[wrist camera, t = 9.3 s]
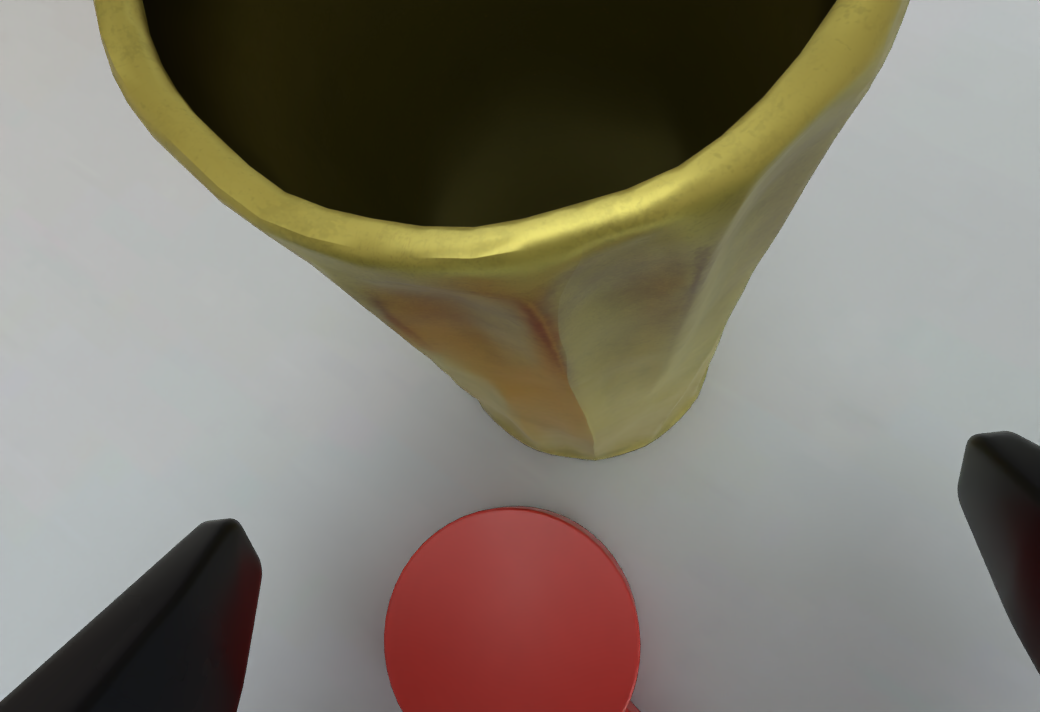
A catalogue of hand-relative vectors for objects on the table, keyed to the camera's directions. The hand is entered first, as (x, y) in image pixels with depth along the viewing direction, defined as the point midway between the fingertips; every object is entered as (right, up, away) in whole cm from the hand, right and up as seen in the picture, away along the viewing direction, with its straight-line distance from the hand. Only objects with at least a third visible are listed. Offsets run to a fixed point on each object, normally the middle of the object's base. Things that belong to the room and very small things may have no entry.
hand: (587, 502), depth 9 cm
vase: (+1, +2, +9) cm, 10 cm away
